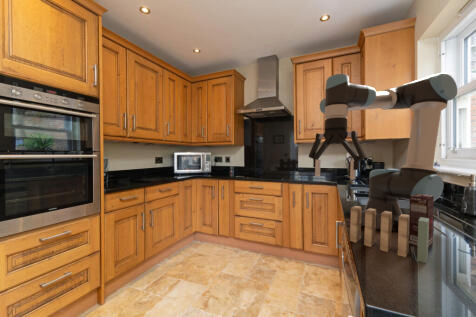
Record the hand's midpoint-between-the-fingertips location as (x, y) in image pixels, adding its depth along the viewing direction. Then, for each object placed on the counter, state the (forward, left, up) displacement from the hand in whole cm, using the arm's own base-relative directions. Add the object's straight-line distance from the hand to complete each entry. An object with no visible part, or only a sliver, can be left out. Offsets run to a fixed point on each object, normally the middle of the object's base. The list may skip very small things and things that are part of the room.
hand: (334, 177), depth 73 cm
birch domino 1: (0, +8, -20) cm, 22 cm away
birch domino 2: (0, +12, -20) cm, 23 cm away
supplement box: (-15, +23, -21) cm, 34 cm away
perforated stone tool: (-19, +8, -21) cm, 29 cm away
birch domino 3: (0, +16, -20) cm, 26 cm away
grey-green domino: (0, +24, -20) cm, 32 cm away
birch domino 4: (0, +20, -20) cm, 29 cm away
